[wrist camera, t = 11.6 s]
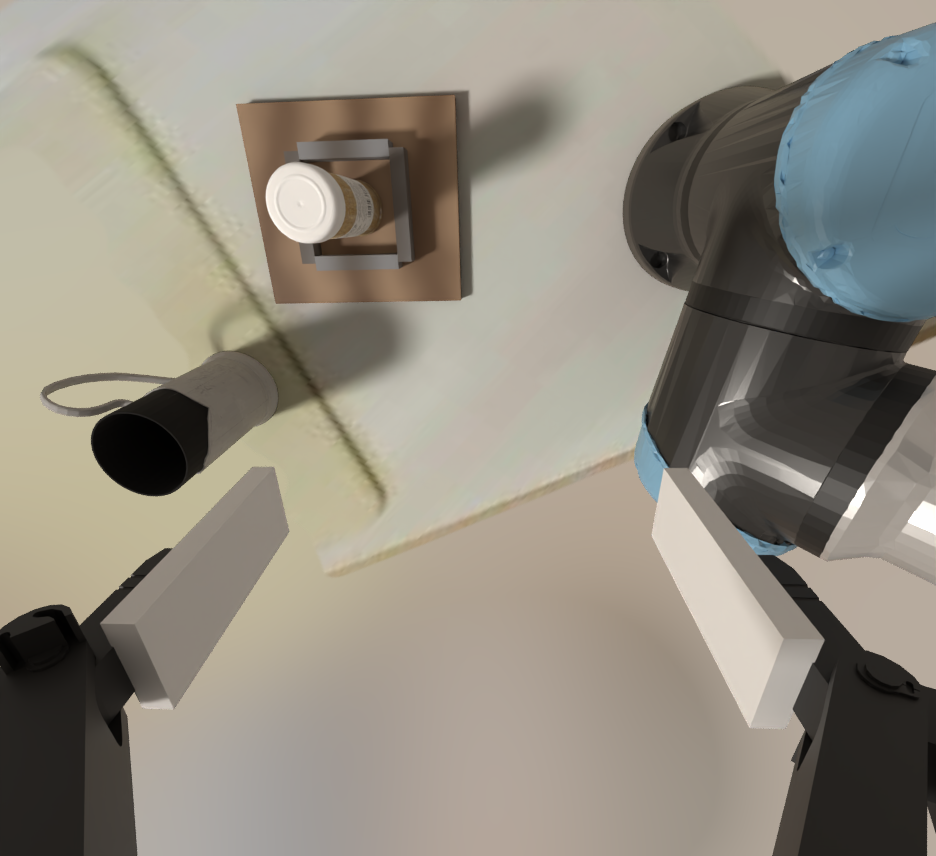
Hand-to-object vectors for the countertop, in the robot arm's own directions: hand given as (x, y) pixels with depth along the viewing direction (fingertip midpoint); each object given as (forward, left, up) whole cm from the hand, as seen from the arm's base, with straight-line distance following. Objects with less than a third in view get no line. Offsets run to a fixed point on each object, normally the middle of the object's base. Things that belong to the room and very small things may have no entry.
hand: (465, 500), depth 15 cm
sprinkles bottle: (+11, -10, -31) cm, 34 cm away
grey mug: (+29, +6, -32) cm, 44 cm away
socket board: (+11, -10, -32) cm, 35 cm away
